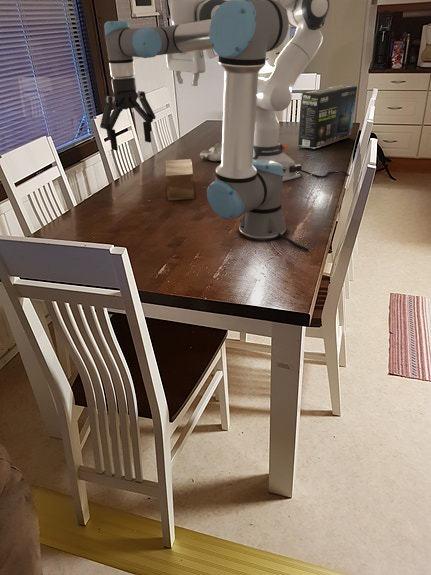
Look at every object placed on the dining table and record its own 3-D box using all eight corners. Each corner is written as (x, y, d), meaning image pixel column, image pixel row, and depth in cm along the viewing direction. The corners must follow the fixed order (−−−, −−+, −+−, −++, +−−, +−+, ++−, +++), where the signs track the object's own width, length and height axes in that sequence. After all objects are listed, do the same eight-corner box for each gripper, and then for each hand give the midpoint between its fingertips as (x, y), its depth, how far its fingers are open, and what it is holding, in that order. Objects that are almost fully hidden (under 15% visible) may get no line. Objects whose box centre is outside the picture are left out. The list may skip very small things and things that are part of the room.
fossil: (226, 156, 214) (204, 136, 217) (214, 175, 220) (193, 155, 224) (245, 154, 228) (224, 134, 231) (233, 171, 234) (214, 152, 237)
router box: (314, 151, 231) (318, 94, 217) (296, 148, 237) (299, 92, 224) (352, 138, 251) (358, 85, 238) (335, 135, 258) (340, 83, 245)
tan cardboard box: (168, 183, 196) (166, 160, 191) (192, 182, 197) (190, 159, 191) (167, 200, 178) (165, 175, 173) (194, 198, 179) (193, 174, 174)
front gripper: (148, 72, 154) (154, 137, 165) (81, 81, 140) (93, 151, 151) (161, 73, 149) (167, 140, 160) (94, 82, 135) (105, 155, 146)
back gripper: (209, 43, 160) (210, 86, 167) (176, 42, 174) (178, 81, 181) (194, 44, 157) (197, 88, 164) (162, 43, 171) (165, 83, 178)
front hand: (131, 145), depth 156 cm, fingers open, 13 cm apart
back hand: (187, 84), depth 172 cm, fingers open, 8 cm apart
